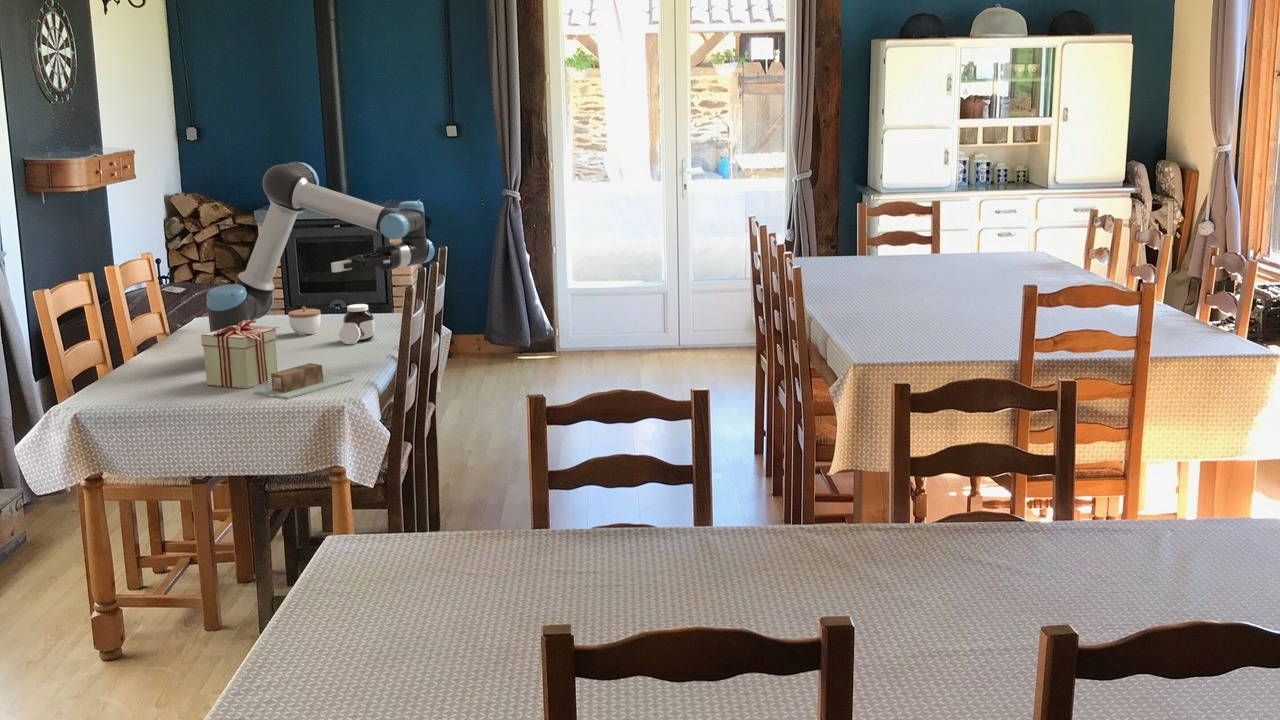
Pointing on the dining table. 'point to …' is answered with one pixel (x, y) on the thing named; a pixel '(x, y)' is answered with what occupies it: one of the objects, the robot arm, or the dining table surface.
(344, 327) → the spread jar
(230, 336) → the gift box
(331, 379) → the mat
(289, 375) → the walnut block
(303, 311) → the lidded jar
